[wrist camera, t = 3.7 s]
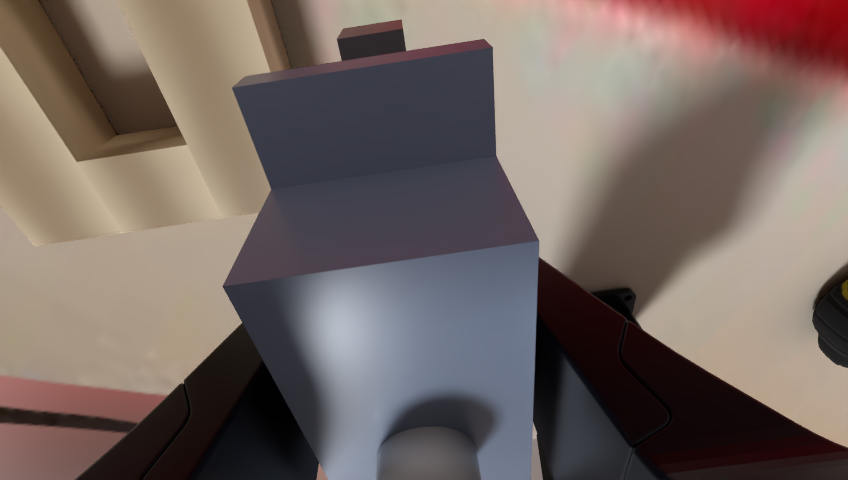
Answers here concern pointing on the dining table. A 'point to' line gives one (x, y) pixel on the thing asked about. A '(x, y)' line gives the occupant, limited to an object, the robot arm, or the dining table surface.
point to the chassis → (141, 151)
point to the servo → (392, 262)
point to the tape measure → (833, 324)
